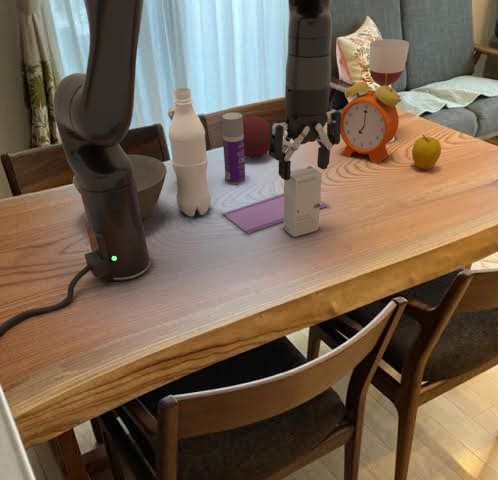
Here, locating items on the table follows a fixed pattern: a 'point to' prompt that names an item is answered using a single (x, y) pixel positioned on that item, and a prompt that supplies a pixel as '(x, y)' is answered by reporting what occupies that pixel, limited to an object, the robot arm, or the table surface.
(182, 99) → the water bottle
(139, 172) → the bowl
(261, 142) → the decorative ball
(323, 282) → the table surface
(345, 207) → the table surface
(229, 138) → the container
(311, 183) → the cosmetic box
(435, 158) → the apple
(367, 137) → the alarm clock
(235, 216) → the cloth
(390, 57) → the wineglass
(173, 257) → the table surface
